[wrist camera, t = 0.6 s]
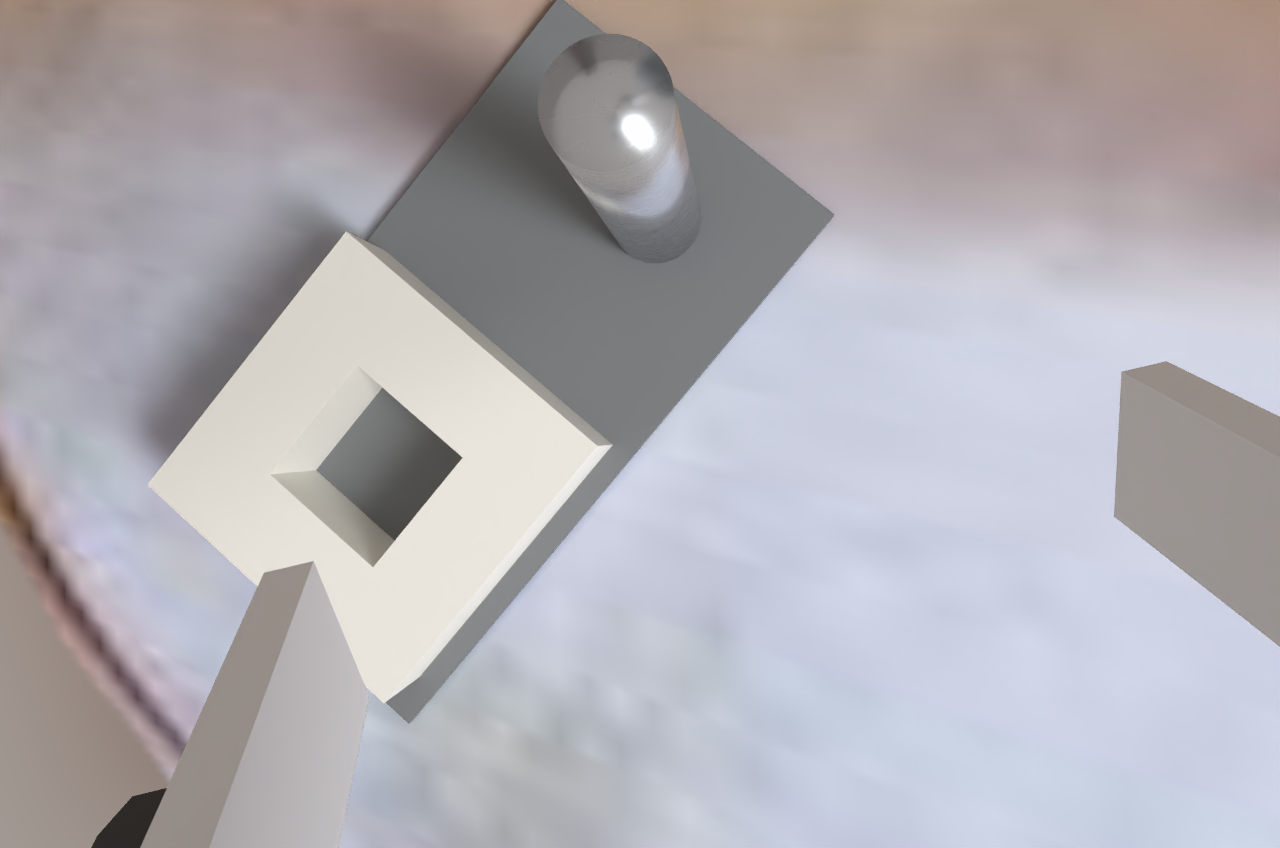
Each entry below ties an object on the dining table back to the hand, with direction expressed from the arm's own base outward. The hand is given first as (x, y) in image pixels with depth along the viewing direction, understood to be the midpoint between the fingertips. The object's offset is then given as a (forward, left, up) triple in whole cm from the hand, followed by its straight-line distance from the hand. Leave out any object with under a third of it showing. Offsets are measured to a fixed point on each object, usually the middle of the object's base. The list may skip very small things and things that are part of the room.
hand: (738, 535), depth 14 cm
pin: (-6, -10, -25) cm, 27 cm away
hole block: (+10, -12, -25) cm, 29 cm away
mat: (+4, -12, -25) cm, 28 cm away
